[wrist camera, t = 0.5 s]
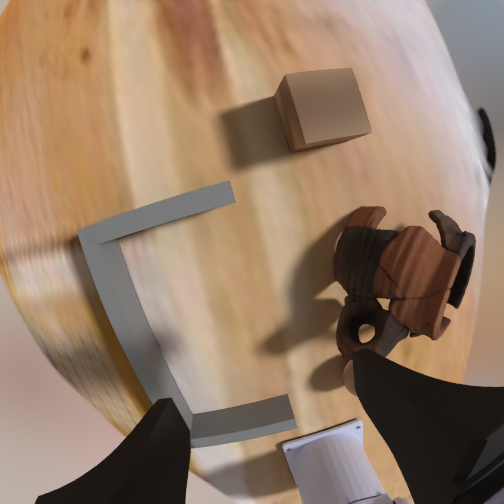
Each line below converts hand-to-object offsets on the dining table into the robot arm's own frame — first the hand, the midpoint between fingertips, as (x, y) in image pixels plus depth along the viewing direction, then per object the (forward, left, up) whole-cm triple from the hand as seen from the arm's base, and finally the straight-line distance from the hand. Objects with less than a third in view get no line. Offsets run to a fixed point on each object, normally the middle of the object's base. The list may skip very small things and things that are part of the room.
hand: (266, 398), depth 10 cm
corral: (-1, +3, -10) cm, 10 cm away
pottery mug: (-1, -10, -10) cm, 14 cm away
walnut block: (+11, -7, -10) cm, 16 cm away
